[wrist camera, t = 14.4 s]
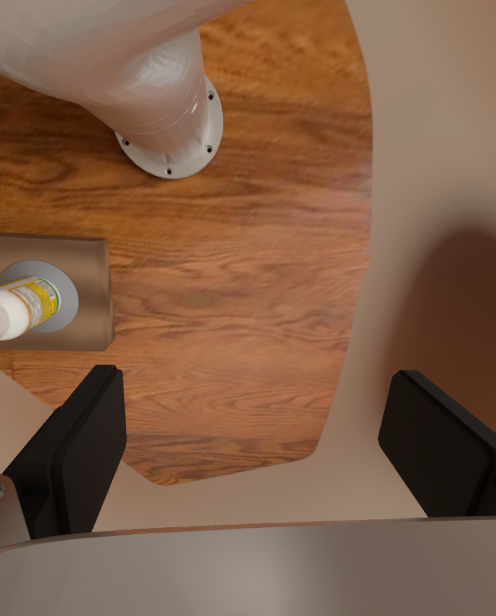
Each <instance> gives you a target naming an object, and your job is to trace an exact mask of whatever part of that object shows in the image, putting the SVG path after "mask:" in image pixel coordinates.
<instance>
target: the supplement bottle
mask: <svg viewBox="0 0 496 616" xmlns="http://www.w3.org/2000/svg"><path fill="white" fill-rule="evenodd" d="M60 305H61V296H60V293H59V291H58V289H57V288H56V287H55V285H54V284H53V283H51V282H50V281H48V280H47V279H44V278H42V277H37V276H29V277H25V278H21V279H18V280H15V281H12V282H8V283H5V284H2V285H0V340H10V339H13V338H16V337H18V336H20V335H21V334H23V333H25V332H27V331H28V330H30V329H32V328H33V327H35V326H37V325H38V324H40V323H42V322H43V321H45V320H47V319H48V318H50V317H51V316H53V315H55V314H56V313H57V312H58V310H59V308H60Z"/></svg>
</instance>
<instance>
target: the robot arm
mask: <svg viewBox="0 0 496 616" xmlns="http://www.w3.org/2000/svg"><path fill="white" fill-rule="evenodd" d="M253 1H255V0H0V75H2V76H4V77H6V78H8V79H10V80H12V81H14V82H16V83H18V84H20V85H23V86H25V87H27V88H29V89H32V90H34V91H37V92H40V93H43V94H45V95H48V96H51V97H55V98H58V99H62V100H65V101H69V102H73V103H76V104H79V105H81V106H82V107H84V108H85V109H86V110H88V111H89V112H91V113H92V114H93V115H94V116H96V117H97V118H98V119H100V120H101V121H102V122H103V123H105V124H106V125H107V126H109V127H110V128H111V129H113V130H114V132H115V135H116V138H117V140H118V142H119V144H120V146H121V148H122V149H123V150H124V152H125V153H126V154H127V156H128V157H129V158H130V159H131V160H132V161H133V162H134V163H135V164H136V165H137V166H139V167H140V168H141V169H143V170H145V171H146V172H148V173H150V174H152V175H154V176H157V177H160V178H165V179H183V178H186V177H190V176H192V175H194V174H196V173H198V172H200V171H201V170H202V169H203V168H205V167H206V166H207V165H208V164H209V162H210V161H211V160H212V159H213V157H214V156H215V154H216V152H217V150H218V148H219V145H220V141H221V138H222V131H223V114H222V107H221V103H220V100H219V97H218V94H217V92H216V90H215V88H214V86H213V84H212V83H211V81H210V80H209V79H208V77H207V76H206V74H205V73H204V65H203V57H202V48H201V40H200V34H199V30H198V27H199V26H201V25H204V24H206V23H208V22H210V21H212V20H214V19H216V18H218V17H221V16H223V15H225V14H227V13H229V12H231V11H233V10H235V9H238V8H240V7H242V6H244V5H246V4H248V3H250V2H253ZM209 96H212V97H213V99H212V100H210V99H209ZM127 141H128V142H129V143H130V144H129V145H128V146H127V145H126V142H127ZM209 148H210V149H211V150H212V151H211V152H210V153H208V152H207V150H208V149H209ZM168 170H171V174H168ZM126 441H127V435H126V419H125V404H124V388H123V373H122V370H118V369H117V368H116V366H115V365H95V366H94V367H93V369H92V370H91V371H90V372H89V373H88V375H87V376H86V377H85V378H84V380H83V381H82V382H81V383H80V384H79V386H78V387H77V388H76V389H75V390H74V392H73V393H72V394H71V395H70V397H69V398H68V399H67V400H66V401H65V403H64V404H63V405H62V406H60V407H58V408H57V409H56V410H55V411H54V412H53V413H52V414H51V416H50V417H49V418H48V419H47V421H46V422H45V423H44V424H43V425H42V427H41V428H40V429H39V430H38V431H37V432H36V434H35V435H34V436H33V437H32V438H31V440H30V441H29V442H28V443H27V444H26V446H25V447H24V448H23V449H22V450H21V451H20V453H19V454H18V455H17V456H16V457H15V459H14V460H13V461H12V462H11V463H10V465H9V466H8V467H7V468H6V469H5V470H4V472H3V473H2V474H0V616H496V433H495V432H494V431H492V430H491V429H490V428H489V427H487V426H486V425H485V424H483V423H482V422H481V421H480V420H478V419H477V418H476V417H475V416H474V415H472V414H471V413H470V412H469V411H467V410H466V409H465V408H464V407H462V406H461V405H460V404H459V403H457V402H456V401H455V400H453V399H452V398H451V397H450V396H449V395H447V394H446V393H445V392H444V391H442V390H441V389H440V388H439V387H437V386H436V385H435V384H434V383H432V382H431V381H430V380H429V379H427V378H426V377H425V376H424V375H422V374H421V373H420V372H418V371H415V370H414V371H413V370H400V371H398V372H397V374H395V375H394V376H393V377H392V381H391V385H390V390H389V394H388V398H387V402H386V406H385V410H384V414H383V419H382V423H381V427H380V431H379V436H378V441H379V445H380V447H381V449H382V450H383V452H384V453H385V455H386V456H387V458H388V459H389V460H390V462H391V463H392V465H393V466H394V468H395V469H396V471H397V472H398V474H399V475H400V476H401V478H402V479H403V481H404V482H405V484H406V485H407V487H408V488H409V490H410V491H411V493H412V494H413V495H414V497H415V499H416V500H417V501H418V503H419V504H420V506H421V507H422V509H423V510H424V512H425V513H426V514H427V516H428V518H399V519H369V520H343V521H342V520H341V521H314V522H287V523H263V524H262V523H261V524H240V525H239V524H237V525H214V526H191V527H168V528H150V529H134V530H133V529H132V530H115V531H101V532H92V529H93V527H94V524H95V522H96V520H97V517H98V515H99V512H100V510H101V507H102V504H103V502H104V500H105V497H106V495H107V492H108V490H109V487H110V485H111V482H112V480H113V478H114V475H115V472H116V470H117V468H118V465H119V463H120V460H121V458H122V455H123V453H124V450H125V447H126Z"/></svg>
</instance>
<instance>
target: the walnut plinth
mask: <svg viewBox="0 0 496 616" xmlns="http://www.w3.org/2000/svg"><path fill="white" fill-rule="evenodd" d="M29 276H37V277H42V278H44V279H47V280H48V281H50V282H51V283H53V284H54V285H55V287H56V288H57V289H58V291H59V293H60V296H61V305H60V308H59V310H58V312H57V313H56V314H55V315H53V316H51V317H50V318H48V319H47V320H45V321H43V322H42V323H40V324H38V325H37V326H35V327H33V328H32V329H30V330H28V331H27V332H25V333H23V334H21V335H20V336H18V337H16V338H13V339H10V340H0V349H23V350H72V351H105V350H106V349H107V348H108V346H109V345H110V344H111V343H112V342H113V340H114V339H115V335H114V321H113V307H112V294H111V280H110V266H109V252H108V239H100V238H83V237H65V236H48V235H31V234H13V233H0V285H2V284H5V283H8V282H12V281H15V280H18V279H21V278H25V277H29Z"/></svg>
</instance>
